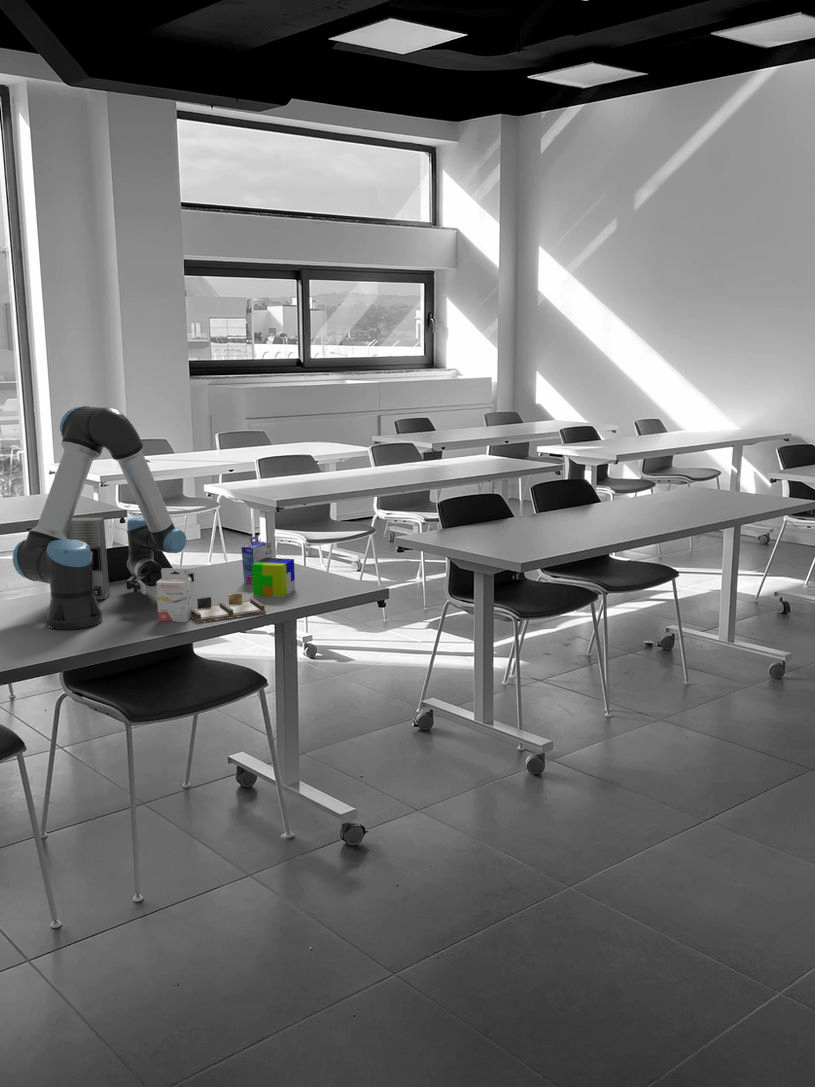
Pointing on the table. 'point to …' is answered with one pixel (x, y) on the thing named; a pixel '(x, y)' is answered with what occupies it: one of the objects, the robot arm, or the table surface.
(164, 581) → the ink cartridge box
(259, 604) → the tag dock board
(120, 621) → the table surface
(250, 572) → the ink cartridge box
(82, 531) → the tall grey box
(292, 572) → the puzzle toy
